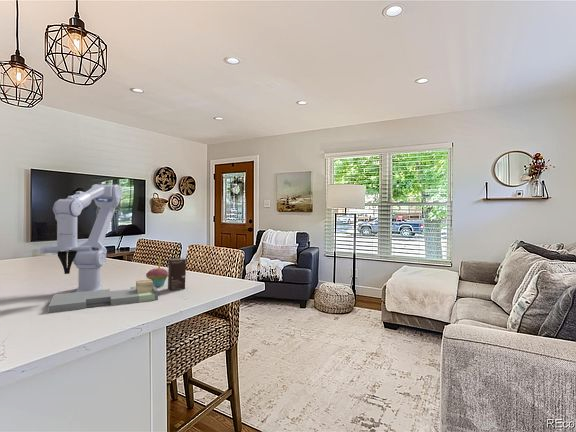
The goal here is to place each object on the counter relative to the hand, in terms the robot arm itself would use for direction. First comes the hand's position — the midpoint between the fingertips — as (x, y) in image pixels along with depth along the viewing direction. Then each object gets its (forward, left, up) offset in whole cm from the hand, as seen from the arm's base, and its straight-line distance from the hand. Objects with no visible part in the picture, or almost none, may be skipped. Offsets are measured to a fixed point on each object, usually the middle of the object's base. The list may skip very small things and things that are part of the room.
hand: (67, 273), depth 110 cm
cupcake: (-8, +30, -9) cm, 33 cm away
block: (+7, +24, -7) cm, 26 cm away
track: (+6, +11, -9) cm, 16 cm away
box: (+1, +36, -9) cm, 38 cm away
